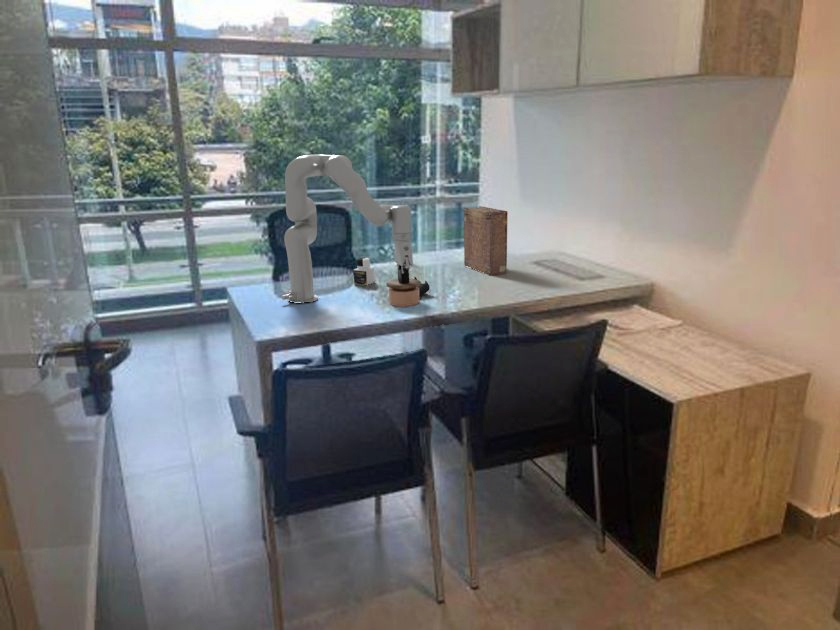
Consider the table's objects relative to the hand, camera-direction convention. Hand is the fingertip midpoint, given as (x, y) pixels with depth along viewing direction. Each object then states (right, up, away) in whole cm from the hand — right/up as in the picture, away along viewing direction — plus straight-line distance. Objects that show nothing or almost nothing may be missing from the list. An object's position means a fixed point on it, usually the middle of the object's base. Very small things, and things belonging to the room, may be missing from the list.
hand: (403, 281), depth 254 cm
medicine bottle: (-19, +1, +37) cm, 42 cm away
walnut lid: (0, -1, 0) cm, 1 cm away
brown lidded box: (+39, +9, +58) cm, 70 cm away
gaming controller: (+4, -5, +16) cm, 17 cm away
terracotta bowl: (0, -9, +3) cm, 9 cm away
